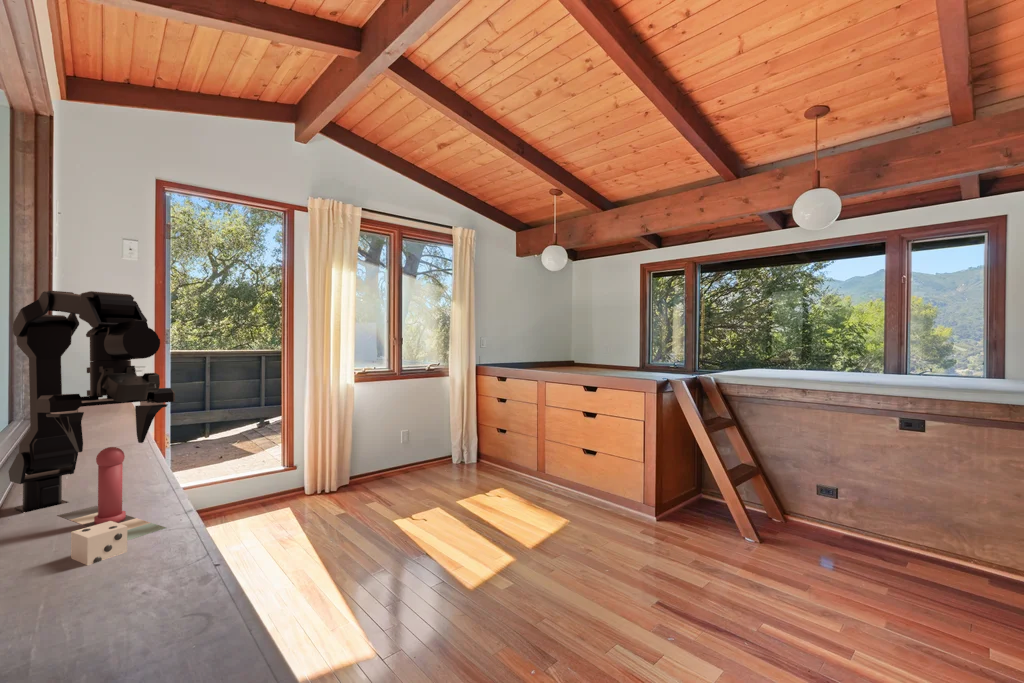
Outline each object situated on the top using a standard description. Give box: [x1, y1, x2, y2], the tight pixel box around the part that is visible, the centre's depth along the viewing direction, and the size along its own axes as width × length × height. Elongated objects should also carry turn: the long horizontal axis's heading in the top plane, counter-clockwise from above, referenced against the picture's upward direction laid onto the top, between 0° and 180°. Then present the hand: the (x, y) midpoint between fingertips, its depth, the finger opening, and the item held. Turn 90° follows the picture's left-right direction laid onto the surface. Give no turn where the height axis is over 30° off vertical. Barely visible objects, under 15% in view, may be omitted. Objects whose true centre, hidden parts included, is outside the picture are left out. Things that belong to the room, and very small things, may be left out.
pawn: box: [94, 446, 127, 525], centre depth 87 cm, size 4×4×14 cm
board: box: [56, 505, 167, 541], centre depth 87 cm, size 25×7×1 cm, turn 64°
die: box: [70, 521, 128, 566], centre depth 73 cm, size 5×5×5 cm
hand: (111, 447), depth 85 cm, fingers open, 9 cm apart
